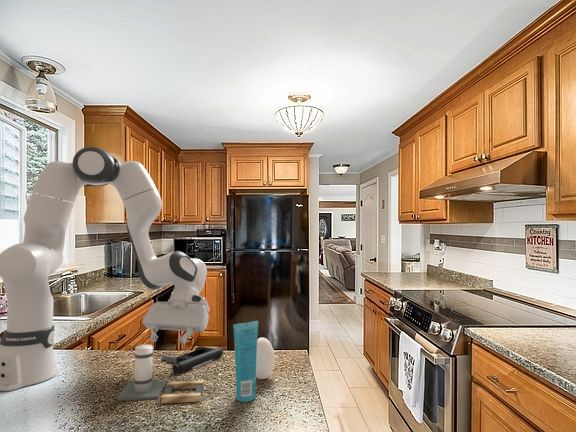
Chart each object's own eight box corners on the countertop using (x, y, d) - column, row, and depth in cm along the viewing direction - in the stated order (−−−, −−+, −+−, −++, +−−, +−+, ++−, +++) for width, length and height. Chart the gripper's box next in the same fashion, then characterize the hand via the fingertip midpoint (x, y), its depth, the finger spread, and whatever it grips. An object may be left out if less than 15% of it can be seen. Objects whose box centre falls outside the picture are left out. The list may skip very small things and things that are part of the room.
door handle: (146, 358, 118) (180, 365, 109) (194, 342, 134) (227, 347, 126) (146, 368, 117) (180, 376, 109) (194, 351, 134) (227, 357, 125)
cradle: (161, 403, 91) (161, 397, 91) (168, 387, 101) (168, 381, 101) (199, 401, 92) (200, 395, 93) (203, 385, 102) (203, 380, 102)
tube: (251, 390, 99) (252, 318, 100) (262, 396, 95) (263, 321, 96) (227, 399, 94) (229, 323, 95) (239, 406, 90) (240, 326, 91)
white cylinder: (131, 393, 96) (132, 350, 96) (136, 385, 100) (137, 344, 100) (150, 392, 96) (150, 349, 96) (154, 384, 101) (154, 344, 101)
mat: (116, 400, 92) (117, 398, 93) (128, 384, 102) (128, 382, 102) (158, 398, 94) (158, 396, 94) (165, 382, 104) (166, 380, 104)
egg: (249, 374, 111) (249, 334, 111) (273, 373, 111) (274, 334, 112) (248, 384, 103) (249, 341, 104) (275, 383, 104) (275, 341, 104)
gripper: (150, 295, 120) (131, 334, 110) (209, 298, 117) (195, 338, 107) (157, 306, 125) (139, 344, 115) (214, 309, 121) (201, 349, 111)
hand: (167, 341), depth 111 cm, fingers open, 8 cm apart
